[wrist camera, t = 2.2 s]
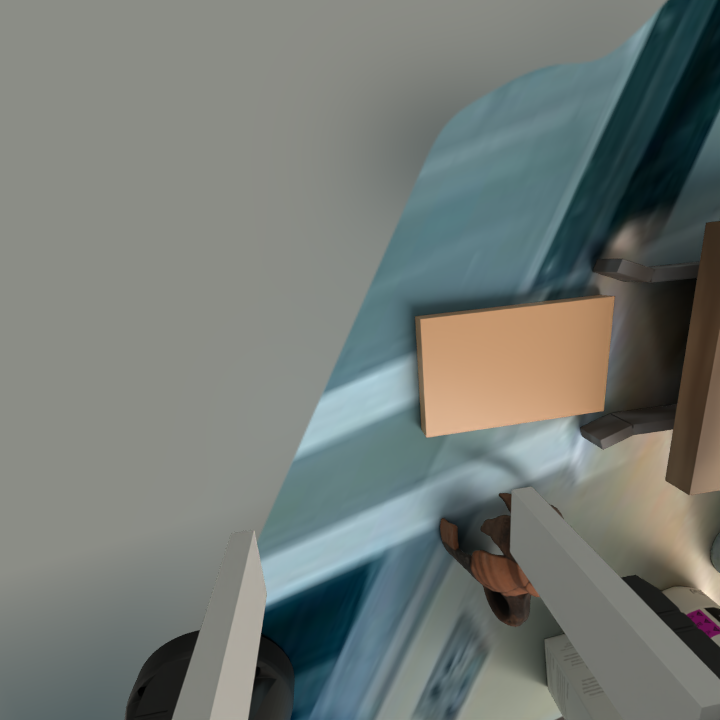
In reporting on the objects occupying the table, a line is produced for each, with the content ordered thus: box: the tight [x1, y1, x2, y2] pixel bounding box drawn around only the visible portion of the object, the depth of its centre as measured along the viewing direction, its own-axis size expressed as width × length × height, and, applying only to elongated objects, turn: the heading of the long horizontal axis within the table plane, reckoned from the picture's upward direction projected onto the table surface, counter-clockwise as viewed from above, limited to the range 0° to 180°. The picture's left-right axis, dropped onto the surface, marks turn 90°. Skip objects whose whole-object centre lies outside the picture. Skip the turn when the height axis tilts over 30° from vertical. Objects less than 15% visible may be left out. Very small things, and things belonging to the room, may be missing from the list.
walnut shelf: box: [580, 221, 720, 495], centre depth 29 cm, size 17×20×7 cm
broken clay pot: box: [440, 493, 564, 627], centre depth 33 cm, size 12×10×8 cm
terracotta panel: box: [415, 295, 615, 437], centre depth 30 cm, size 16×10×2 cm, turn 95°
